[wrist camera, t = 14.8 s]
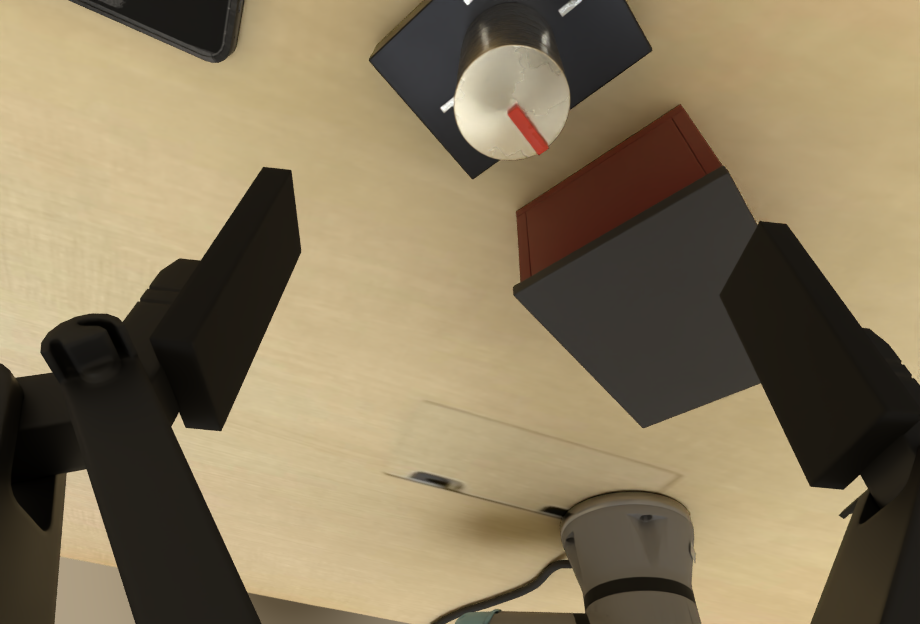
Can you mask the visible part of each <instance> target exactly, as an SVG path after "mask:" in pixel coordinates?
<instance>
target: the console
mask: <svg viewBox="0 0 920 624" xmlns="http://www.w3.org/2000/svg"><path fill="white" fill-rule="evenodd" d="M503 3H518V4H523V5H526V6H529V7H530V8H532V9H534V10H536V11H537V12H538V13H540V14H541V15H542V16H543V17H544V18H545V20H546V21H547V22H548V24H549V25H550V27H551V29H552V31H553V34H554V37H555V40H556V44H557V47H558V51H559V54H560V58H561V61H562V64H563V68H564V71H565V75H566V78H567V82H568V85H569V90H570V109H572V108H573V107H575V106H576V105H577V104H579V103H580V102H582V101H583V100H584V99H586V98H587V97H589V96H590V95H591V94H593V93H594V92H596V91H597V90H598V89H600V88H601V87H603V86H604V85H605V84H607V83H608V82H609V81H611V80H612V79H614V78H615V77H616V76H618V75H619V74H621V73H622V72H623V71H625V70H626V69H628V68H629V67H630V66H632V65H633V64H635V63H636V62H637V61H639V60H640V59H642V58H643V57H644V56H646V55H647V54H649V53H650V52H651V51H652V47H651V45H650V44H649V42H648V40H647V38H646V36H645V35H644V33H643V31H642V29H641V27H640V26H639V24H638V22H637V20H636V18H635V17H634V15H633V13H632V11H631V9H630V7H629V6H628V4H627V2H626V0H424V1H423V2H422V3H420V4H419V5H418V6H417V7H416V8H415V9H414V10H413V11H412V12H411V13H410V14H409V15H408V16H407V17H406V18H405V19H404V20H403V21H402V22H401V23H400V24H399V25H397V26H396V27H395V28H394V29H393V30H392V31H391V32H390V33H389V34H388V35H387V36H386V37H385V38H384V39H383V40H382V41H381V42H380V43H379V44H378V45H377V46H376V47H375V49H374V51H373V53H372V55H371V56H370V58H369V61H370V63H371V64H372V65H373V66H374V67H375V68H376V70H377V71H378V72H379V73H380V74H381V75H382V76H383V78H384V79H385V80H386V81H387V82H388V83H389V84H390V86H391V87H392V88H393V89H394V90H395V91H396V92H397V94H398V95H399V96H400V97H401V98H402V99H403V100H404V102H405V103H406V104H407V105H408V106H409V107H410V109H411V110H412V111H413V112H414V113H415V114H416V115H417V117H418V118H419V119H420V120H421V121H422V122H423V123H424V125H425V126H426V127H427V128H428V129H429V130H430V131H431V133H432V134H433V135H434V136H435V137H436V138H437V139H438V141H439V142H440V143H441V144H442V145H443V146H444V148H445V149H446V150H447V151H448V152H449V153H450V154H451V156H452V157H453V158H454V159H455V160H456V161H457V162H458V164H459V165H460V166H461V167H462V168H463V169H464V170H465V172H466V173H467V174H468V175H469V176H470V177H471V178H472V179H474V178H476V177H477V176H478V175H480V174H481V173H483V172H484V171H485V170H487V169H488V168H490V167H491V166H492V165H494V164H495V163H497V162H498V161H499V159H494V158H491V157H488V156H486V155H484V154H482V153H480V152H479V151H477V150H476V149H475V148H473V147H472V146H471V145H470V144H469V143H468V142H467V141H466V139H465V138H464V137H463V135H462V134H461V132H460V130H459V128H458V125H457V123H456V119H455V115H454V95H455V88H456V81H457V75H458V68H459V61H460V54H461V47H462V42H463V39H464V36H465V34H466V31H467V30H468V28H469V26H470V25H471V23H472V22H473V21H474V20H475V19H476V18H477V17H478V16H479V15H480V14H481V13H482V12H484V11H485V10H487V9H489V8H490V7H493V6H495V5H499V4H503ZM570 109H569V110H570Z"/></svg>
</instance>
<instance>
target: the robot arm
mask: <svg viewBox="0 0 920 624" xmlns="http://www.w3.org/2000/svg"><path fill="white" fill-rule="evenodd" d="M300 254H301V245H300V236H299V228H298V220H297V212H296V204H295V196H294V188H293V180H292V172H291V170H286V169H277V168H268V167H263V168H262V170H261V171H260V173H259V174H258V176H257V177H256V179H255V180H254V182H253V183H252V185H251V186H250V188H249V189H248V191H247V192H246V194H245V195H244V197H243V198H242V200H241V201H240V203H239V204H238V206H237V207H236V209H235V210H234V212H233V213H232V215H231V216H230V218H229V219H228V221H227V222H226V224H225V225H224V227H223V228H222V230H221V231H220V233H219V234H218V236H217V237H216V239H215V240H214V242H213V243H212V245H211V246H210V248H209V249H208V251H207V252H206V254H205V255H204V257H203V258H202V260H201V261H199V260H189V259H178V260H176V261H175V262H173V263H172V264H170V265H169V266H167V267H166V268H164V269H163V270H161V271H160V272H159V274H158V275H157V276H156V278H155V279H154V281H153V282H152V283H151V285H150V286H149V289H147V290H146V291H145V293H144V294H143V295H142V297H141V298H140V302H137V303H136V305H135V306H134V308H133V309H132V310H131V312H130V313H129V314H128V316H127V317H126V318H125V320H124V321H123V322H122V321H121V320H120V319H119V318H117V317H115V316H112V315H109V314H87V315H82V316H77V317H74V318H72V319H70V320H67V321H65V322H63V323H60V324H59V325H58V326H56V327H55V328H54V329H52V330H51V331H50V332H48V334H47V335H46V337H45V338H44V340H43V341H42V342H41V354H42V356H43V358H44V359H45V361H46V363H47V364H48V366H49V367H50V369H51V371H52V372H53V373H47V374H40V375H32V376H25V377H18V378H15V377H14V376H13V374H12V373H11V371H10V370H9V369H8V368H6V367H5V366H4V365H3V364H0V624H54V622H55V610H56V597H57V585H58V573H59V572H58V571H59V560H60V548H61V536H62V523H63V511H64V498H65V486H66V474H67V473H68V472H73V471H79V470H84V469H87V472H88V475H89V478H90V481H91V484H92V488H93V491H94V494H95V497H96V500H97V503H98V507H99V510H100V513H101V516H102V519H103V522H104V526H105V529H106V532H107V535H108V538H109V541H110V544H111V548H112V551H113V554H114V557H115V560H116V563H117V567H118V569H119V573H120V576H121V579H122V582H123V586H124V589H125V592H126V595H127V598H128V601H129V604H130V607H131V611H132V614H133V617H134V620H135V623H136V624H261V622H260V619H259V617H258V615H257V613H256V611H255V609H254V606H253V604H252V602H251V600H250V598H249V595H248V593H247V591H246V589H245V587H244V585H243V582H242V580H241V578H240V576H239V574H238V571H237V569H236V567H235V565H234V563H233V561H232V558H231V556H230V554H229V552H228V550H227V548H226V545H225V543H224V541H223V539H222V537H221V534H220V532H219V530H218V528H217V526H216V524H215V521H214V519H213V517H212V515H211V513H210V510H209V508H208V506H207V504H206V502H205V500H204V497H203V495H202V493H201V491H200V489H199V487H198V484H197V482H196V480H195V478H194V476H193V473H192V471H191V469H190V467H189V465H188V463H187V460H186V458H185V456H184V454H183V452H182V449H181V447H180V445H179V443H178V441H177V439H176V436H175V434H174V432H173V430H172V428H171V426H172V424H173V422H174V421H175V419H176V417H177V415H178V413H180V415H181V418H182V420H183V422H184V425H185V427H186V428H194V429H204V430H215V431H222V428H223V426H224V424H225V422H226V419H227V417H228V415H229V413H230V410H231V408H232V406H233V404H234V401H235V399H236V397H237V395H238V393H239V390H240V388H241V386H242V384H243V381H244V379H245V377H246V375H247V372H248V370H249V368H250V366H251V363H252V361H253V359H254V357H255V354H256V352H257V350H258V348H259V345H260V343H261V341H262V339H263V337H264V334H265V332H266V330H267V328H268V325H269V323H270V321H271V319H272V316H273V314H274V312H275V310H276V307H277V305H278V303H279V301H280V298H281V296H282V294H283V292H284V290H285V287H286V285H287V283H288V281H289V278H290V276H291V274H292V272H293V269H294V267H295V265H296V263H297V260H298V258H299V256H300ZM719 296H720V298H721V300H722V302H723V305H724V307H725V309H726V311H727V313H728V315H729V317H730V319H731V321H732V323H733V325H734V328H735V330H736V332H737V334H738V336H739V338H740V340H741V342H742V344H743V346H744V349H745V351H746V353H747V355H748V357H749V359H750V361H751V363H752V365H753V367H754V370H755V372H756V374H757V376H758V378H759V380H760V382H761V384H762V386H763V388H764V390H765V393H766V395H767V397H768V399H769V401H770V403H771V405H772V407H773V409H774V411H775V414H776V416H777V418H778V420H779V422H780V424H781V426H782V428H783V430H784V432H785V435H786V437H787V439H788V441H789V443H790V445H791V447H792V449H793V451H794V453H795V455H796V458H797V460H798V462H799V464H800V466H801V468H802V470H803V472H804V474H805V476H806V479H807V481H808V483H809V485H810V487H821V488H831V489H842V490H844V489H845V488H846V487H847V486H848V485H849V484H850V483H851V482H852V481H854V480H855V479H856V478H857V477H858V476H859V475H861V477H862V479H863V480H864V482H865V484H866V486H867V487H868V489H867V490H866V491H865V492H864V493H863V494H862V495H861V496H859V497H858V498H857V499H856V500H855V501H854V502H852V503H851V504H850V505H849V506H848V507H847V508H845V509H844V510H843V511H842V512H841V514H840V515H839V516H840V517H842V518H843V519H844V518H845V517H847V516H848V515H849V514H852V517H851V519H850V522H849V524H848V527H847V530H846V532H845V535H844V538H843V540H842V543H841V545H840V548H839V551H838V553H837V556H836V558H835V561H834V564H833V566H832V569H831V571H830V574H829V577H828V579H827V582H826V585H825V587H824V590H823V592H822V595H821V598H820V600H819V603H818V605H817V608H816V611H815V613H814V616H813V618H812V621H811V624H920V385H919V384H918V382H917V381H916V380H915V379H914V378H911V376H912V374H911V373H910V372H909V371H908V369H907V368H906V367H905V365H902V364H901V362H902V361H901V360H900V359H899V357H898V356H897V355H896V353H895V352H894V351H893V349H892V348H891V347H890V345H889V344H888V343H886V342H885V341H884V340H883V339H881V338H880V337H879V336H878V335H877V334H875V333H874V332H873V331H872V330H870V329H868V328H862V327H861V326H860V324H859V323H858V322H857V320H856V319H855V317H854V316H853V315H852V313H851V312H850V311H849V309H848V308H847V306H846V305H845V304H844V302H843V301H842V300H841V298H840V297H839V295H838V294H837V293H836V291H835V290H834V289H833V287H832V286H831V285H830V283H829V282H828V280H827V279H826V278H825V276H824V275H823V274H822V272H821V271H820V269H819V268H818V267H817V265H816V264H815V263H814V261H813V260H812V258H811V257H810V256H809V254H808V253H807V252H806V250H805V249H804V247H803V246H802V245H801V243H800V242H799V241H798V239H797V238H796V236H795V235H794V234H793V232H792V231H791V230H790V228H789V227H788V226H787V224H781V223H772V222H762V221H760V222H759V224H758V226H757V227H756V229H755V231H754V233H753V235H752V237H751V238H750V240H749V242H748V244H747V246H746V247H745V249H744V251H743V253H742V255H741V257H740V258H739V260H738V262H737V264H736V266H735V267H734V269H733V271H732V273H731V275H730V277H729V278H728V280H727V282H726V284H725V286H724V287H723V289H722V291H721V293H720V295H719ZM560 531H561V541H562V544H563V547H564V550H565V552H566V555H567V557H568V559H569V560H560V561H556V562H554V563H552V564H550V565H549V566H548V567H547V568H545V570H544V571H543V572H542V573H541V574H540V575H539V576H538V577H537V578H536V579H535V580H534V581H533V582H531V583H530V584H528V585H526V586H524V587H522V588H520V589H517V590H515V591H512V592H510V593H507V594H504V595H501V596H498V597H496V598H493V599H490V600H487V601H484V602H481V603H478V604H474V605H471V606H468V607H465V608H462V609H460V610H457V611H455V612H453V613H450V614H448V615H446V616H444V617H442V618H441V619H439V620H438V621H436V622H435V623H433V624H446V623H448V622H450V621H452V620H454V619H456V618H458V619H457V621H456V622H455V624H701V621H700V617H699V613H698V609H697V606H696V602H695V598H694V594H693V590H692V584H691V583H692V565H693V560H694V562H695V560H696V553H695V550H694V548H693V547H694V529H693V525H692V521H691V518H690V515H689V512H688V511H687V509H686V508H685V507H684V506H683V505H682V504H680V503H679V502H677V501H675V500H673V499H671V498H668V497H665V496H662V495H658V494H653V493H646V492H618V493H610V494H605V495H601V496H597V497H593V498H590V499H588V500H585V501H583V502H581V503H579V504H577V505H575V506H574V507H572V508H571V509H570V510H568V511H567V512H566V513H565V515H564V516H563V518H562V520H561V522H560ZM561 568H572V569H573V571H574V573H575V576H576V578H577V580H578V583H579V585H580V587H581V590H582V592H583V598H584V606H585V613H550V612H513V611H501V610H500V609H495V610H493V611H491V612H476V611H479V610H482V609H486V608H489V607H492V606H495V605H498V604H501V603H503V602H506V601H509V600H512V599H515V598H518V597H520V596H523V595H525V594H527V593H529V592H531V591H533V590H535V589H536V588H538V587H539V586H540V585H541V584H542V583H543V582H544V581H545V580H546V579H547V578H548V577H549V576H550V575H551V574H552V573H553V572H554V571H556V570H558V569H561Z"/></svg>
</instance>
